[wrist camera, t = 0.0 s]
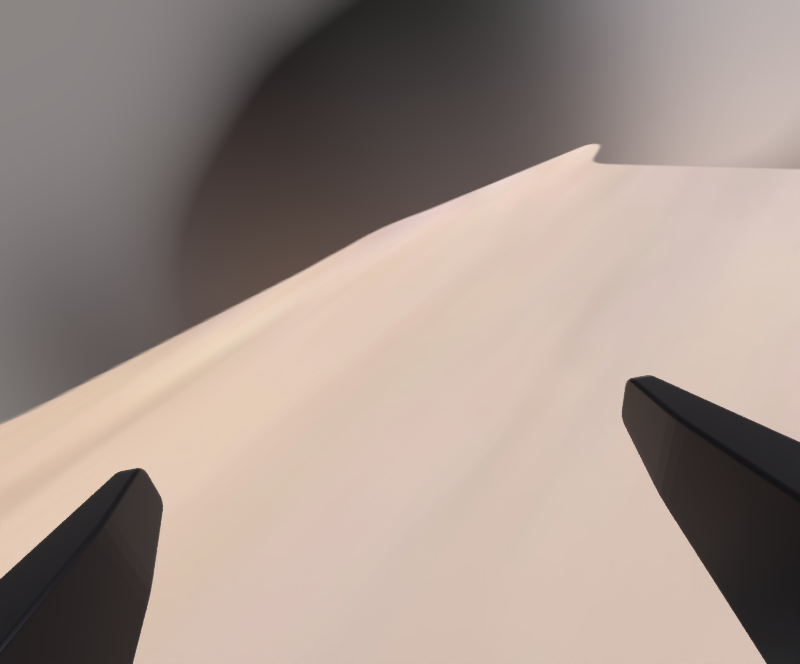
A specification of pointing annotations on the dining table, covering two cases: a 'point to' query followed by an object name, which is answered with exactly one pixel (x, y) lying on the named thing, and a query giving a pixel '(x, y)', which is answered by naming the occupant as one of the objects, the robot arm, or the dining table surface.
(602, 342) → the dining table surface
